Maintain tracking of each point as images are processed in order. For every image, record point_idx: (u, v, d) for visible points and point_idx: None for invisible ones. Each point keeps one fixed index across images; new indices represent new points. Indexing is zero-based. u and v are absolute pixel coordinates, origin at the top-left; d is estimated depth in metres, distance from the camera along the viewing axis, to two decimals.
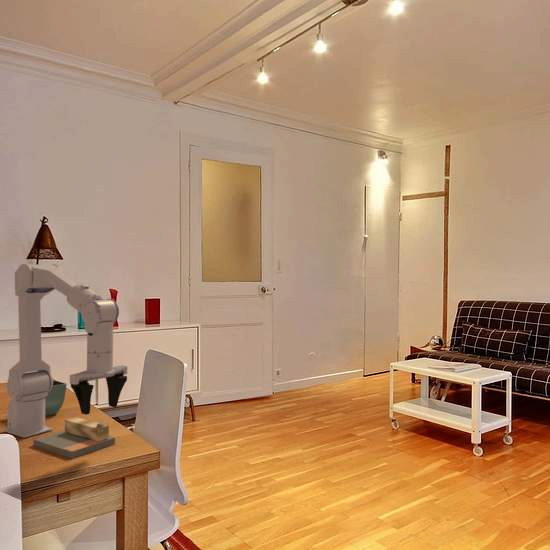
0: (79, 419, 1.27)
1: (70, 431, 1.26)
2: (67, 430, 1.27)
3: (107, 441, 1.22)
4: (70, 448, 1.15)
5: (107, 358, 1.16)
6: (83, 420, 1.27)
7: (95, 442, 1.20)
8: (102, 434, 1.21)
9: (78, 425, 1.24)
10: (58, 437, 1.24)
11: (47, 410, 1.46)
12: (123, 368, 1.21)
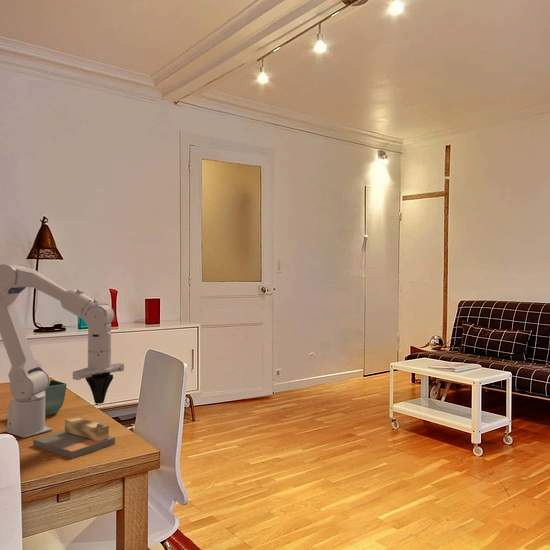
0: (79, 419, 1.27)
1: (70, 431, 1.26)
2: (67, 430, 1.27)
3: (107, 441, 1.22)
4: (70, 448, 1.15)
5: (106, 356, 1.30)
6: (83, 420, 1.27)
7: (95, 442, 1.20)
8: (102, 434, 1.21)
9: (78, 425, 1.24)
10: (58, 437, 1.24)
11: (47, 410, 1.46)
12: (120, 365, 1.36)
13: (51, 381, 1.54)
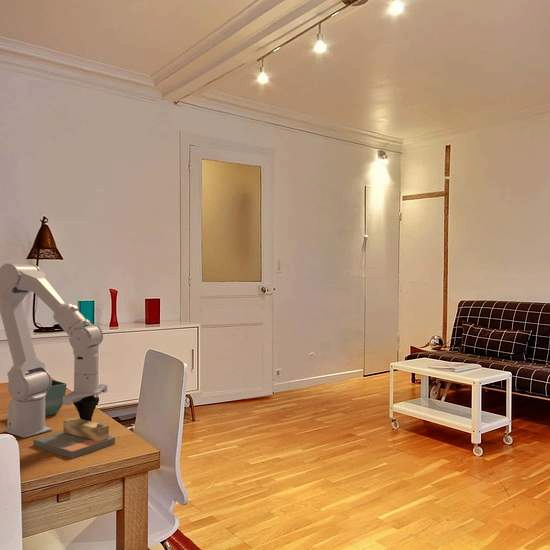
0: (78, 419, 1.27)
1: (69, 431, 1.26)
2: (66, 430, 1.26)
3: (107, 441, 1.22)
4: (70, 448, 1.15)
5: (95, 379, 1.27)
6: (82, 420, 1.26)
7: (95, 442, 1.20)
8: (102, 434, 1.21)
9: (77, 425, 1.24)
10: (58, 437, 1.24)
11: (47, 410, 1.46)
12: (104, 387, 1.33)
13: None
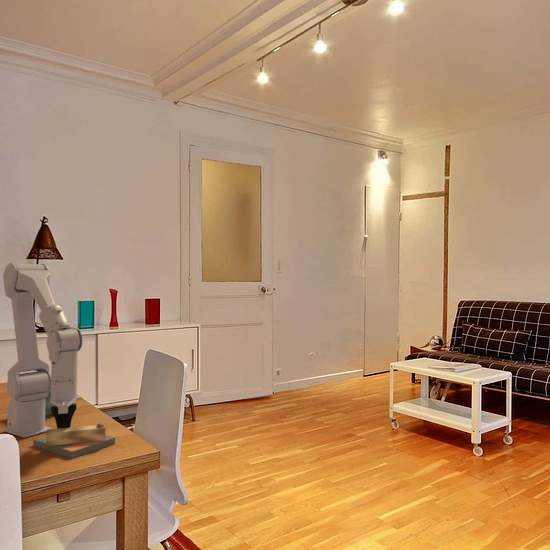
0: (59, 429, 1.19)
1: (56, 443, 1.17)
2: (50, 443, 1.17)
3: (107, 441, 1.22)
4: (70, 448, 1.15)
5: (76, 384, 1.22)
6: (66, 428, 1.20)
7: (95, 442, 1.20)
8: None
9: (71, 433, 1.18)
10: None
11: (47, 410, 1.46)
12: None
13: None
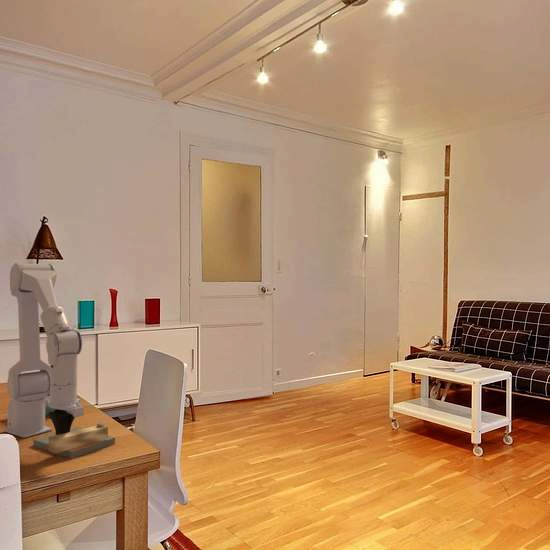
0: (62, 434, 1.15)
1: (64, 448, 1.14)
2: (59, 450, 1.13)
3: (107, 441, 1.22)
4: None
5: None
6: (68, 433, 1.17)
7: None
8: None
9: (77, 436, 1.16)
10: None
11: (47, 410, 1.46)
12: None
13: None
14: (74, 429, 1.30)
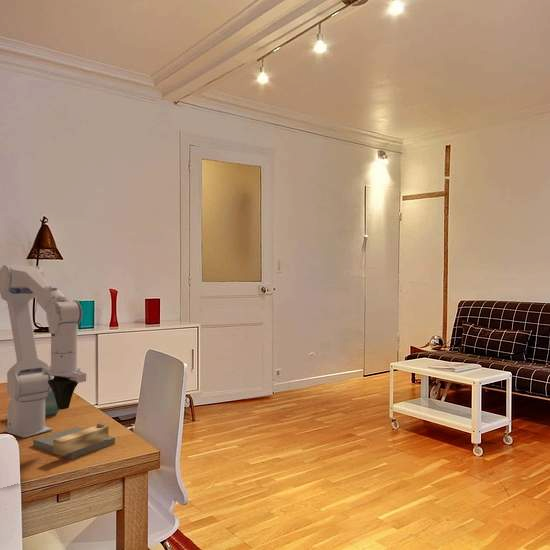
0: (66, 436, 1.14)
1: (71, 450, 1.13)
2: (66, 451, 1.12)
3: (107, 441, 1.22)
4: None
5: None
6: (72, 434, 1.16)
7: None
8: None
9: (82, 437, 1.15)
10: (58, 437, 1.24)
11: (47, 410, 1.46)
12: None
13: None
14: (74, 429, 1.30)
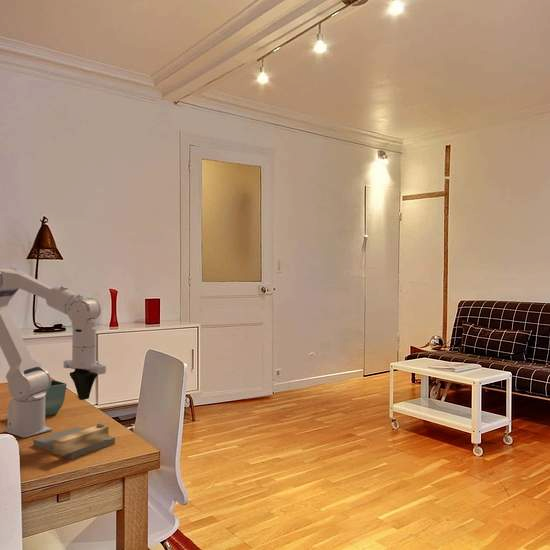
0: (66, 436, 1.14)
1: (71, 450, 1.13)
2: (66, 451, 1.12)
3: (107, 441, 1.22)
4: None
5: None
6: (72, 434, 1.16)
7: None
8: None
9: (82, 437, 1.15)
10: (58, 437, 1.24)
11: (47, 410, 1.46)
12: None
13: (51, 381, 1.54)
14: (74, 429, 1.30)
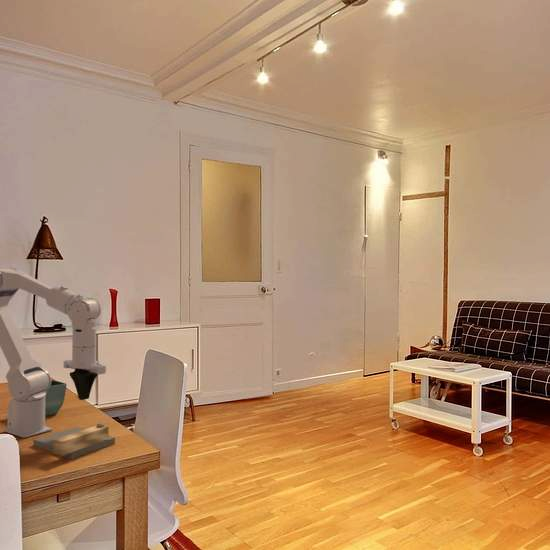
0: (66, 436, 1.14)
1: (71, 450, 1.13)
2: (66, 451, 1.12)
3: (107, 441, 1.22)
4: None
5: None
6: (72, 434, 1.16)
7: None
8: None
9: (82, 437, 1.15)
10: (58, 437, 1.24)
11: (47, 410, 1.46)
12: None
13: (51, 381, 1.54)
14: (74, 429, 1.30)
